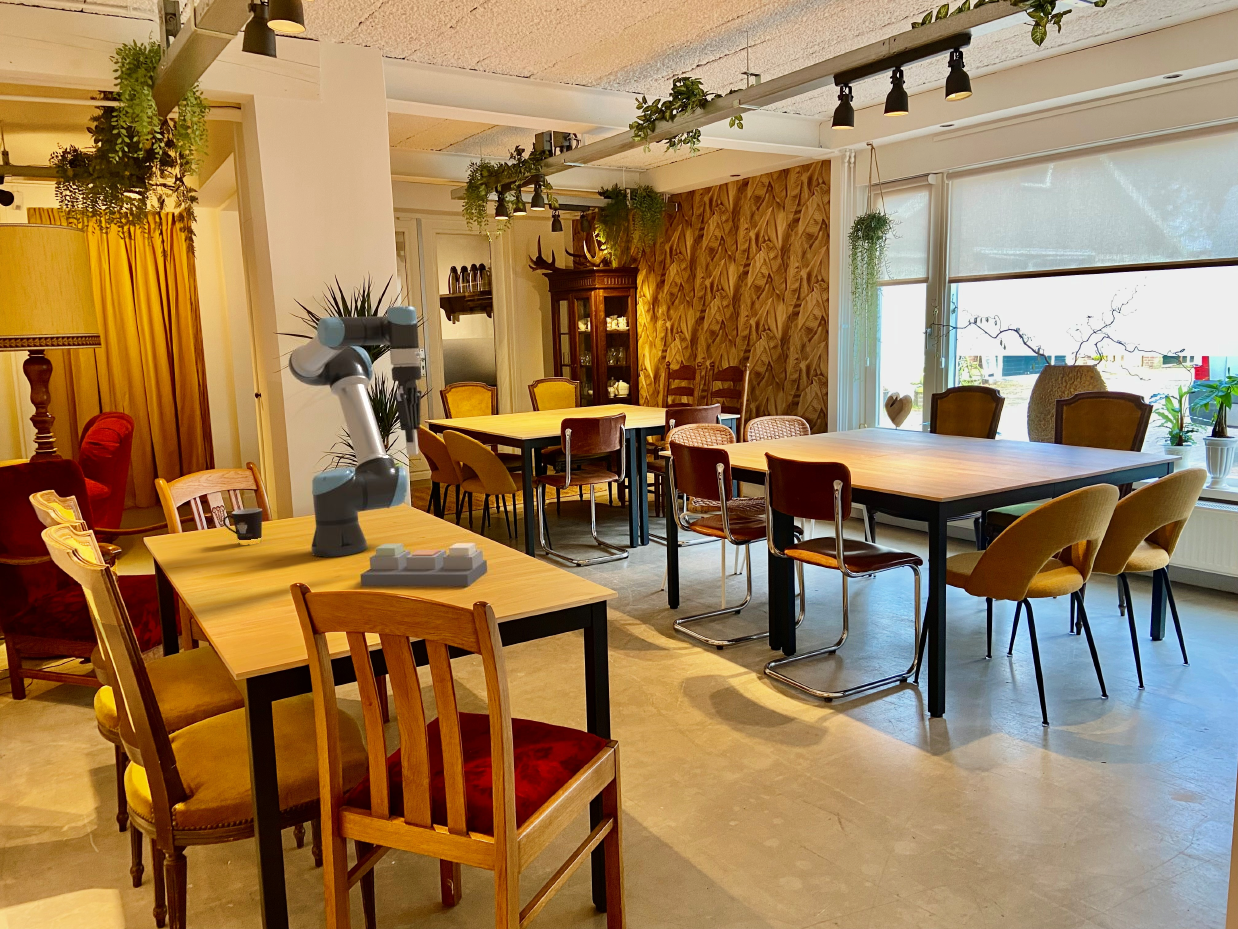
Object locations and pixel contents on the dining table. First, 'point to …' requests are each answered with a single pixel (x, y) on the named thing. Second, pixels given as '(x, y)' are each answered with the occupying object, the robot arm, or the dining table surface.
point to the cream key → (462, 549)
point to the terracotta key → (426, 553)
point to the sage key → (389, 550)
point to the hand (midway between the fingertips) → (412, 454)
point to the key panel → (424, 570)
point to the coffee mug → (247, 523)
